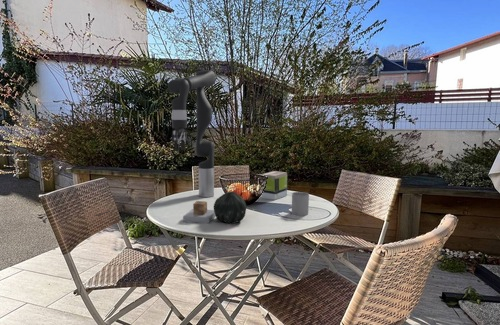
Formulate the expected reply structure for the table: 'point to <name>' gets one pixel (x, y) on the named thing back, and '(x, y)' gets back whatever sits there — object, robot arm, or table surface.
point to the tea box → (275, 185)
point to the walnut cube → (200, 207)
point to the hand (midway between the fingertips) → (180, 150)
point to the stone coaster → (199, 217)
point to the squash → (230, 207)
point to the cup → (300, 203)
